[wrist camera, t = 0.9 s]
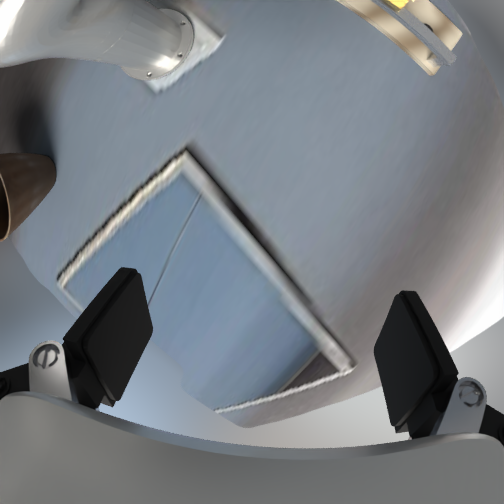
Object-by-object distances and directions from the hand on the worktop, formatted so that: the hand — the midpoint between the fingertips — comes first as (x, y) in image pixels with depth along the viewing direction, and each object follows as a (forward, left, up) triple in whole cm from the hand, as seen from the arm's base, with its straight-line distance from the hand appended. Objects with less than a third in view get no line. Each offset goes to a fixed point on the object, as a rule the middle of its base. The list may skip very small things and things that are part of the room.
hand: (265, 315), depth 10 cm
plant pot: (-38, -25, -33) cm, 56 cm away
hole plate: (-2, +33, -33) cm, 46 cm away
